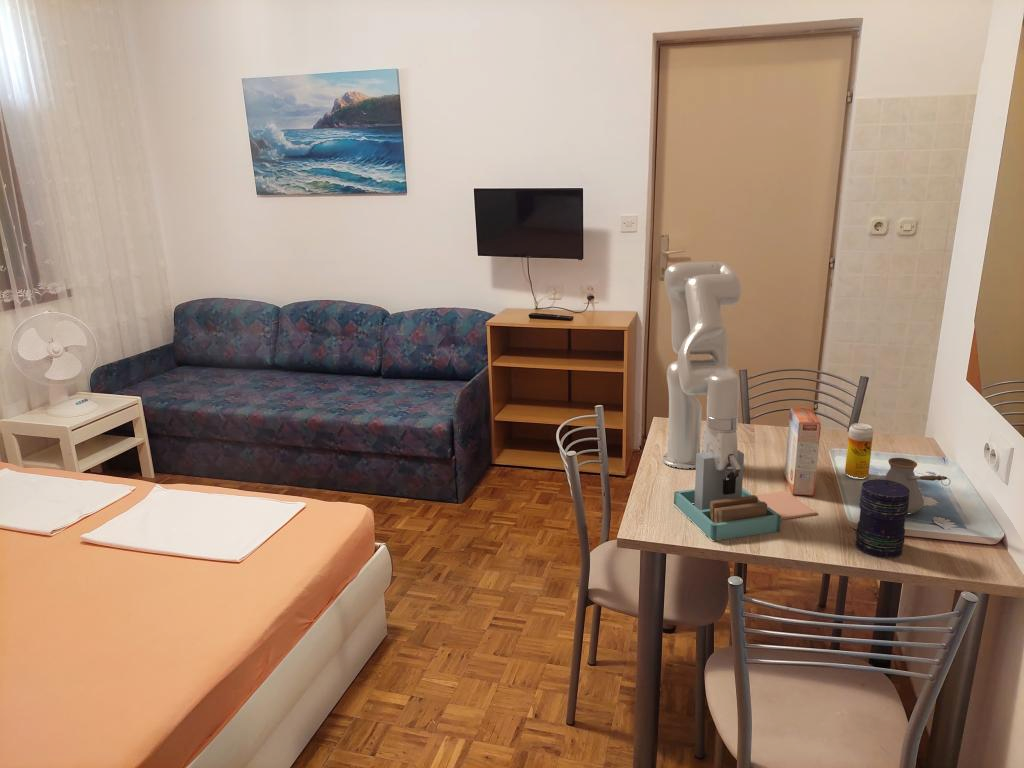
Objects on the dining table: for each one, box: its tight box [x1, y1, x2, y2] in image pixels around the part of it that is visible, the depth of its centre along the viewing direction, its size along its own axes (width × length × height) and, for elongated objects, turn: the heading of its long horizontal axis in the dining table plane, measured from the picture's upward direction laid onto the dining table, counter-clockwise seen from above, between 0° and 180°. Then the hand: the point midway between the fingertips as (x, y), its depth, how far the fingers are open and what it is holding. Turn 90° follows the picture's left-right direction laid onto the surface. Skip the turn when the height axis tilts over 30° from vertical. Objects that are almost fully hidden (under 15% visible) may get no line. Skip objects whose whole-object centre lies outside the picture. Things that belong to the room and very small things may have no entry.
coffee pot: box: [882, 457, 951, 514], centre depth 180 cm, size 21×12×15 cm, turn 8°
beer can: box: [844, 422, 874, 478], centre depth 205 cm, size 6×6×15 cm
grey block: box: [694, 449, 745, 510], centre depth 186 cm, size 4×11×16 cm, turn 104°
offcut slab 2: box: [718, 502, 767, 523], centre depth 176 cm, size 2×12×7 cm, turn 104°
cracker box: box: [784, 406, 822, 497], centre depth 199 cm, size 14×6×21 cm, turn 168°
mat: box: [754, 490, 818, 521], centre depth 190 cm, size 14×13×1 cm
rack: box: [673, 487, 782, 541], centre depth 184 cm, size 20×18×4 cm
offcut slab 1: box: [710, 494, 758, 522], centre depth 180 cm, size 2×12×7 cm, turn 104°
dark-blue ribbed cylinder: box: [855, 479, 910, 559], centre depth 166 cm, size 10×10×15 cm
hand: (718, 486), depth 186 cm, fingers open, 9 cm apart
